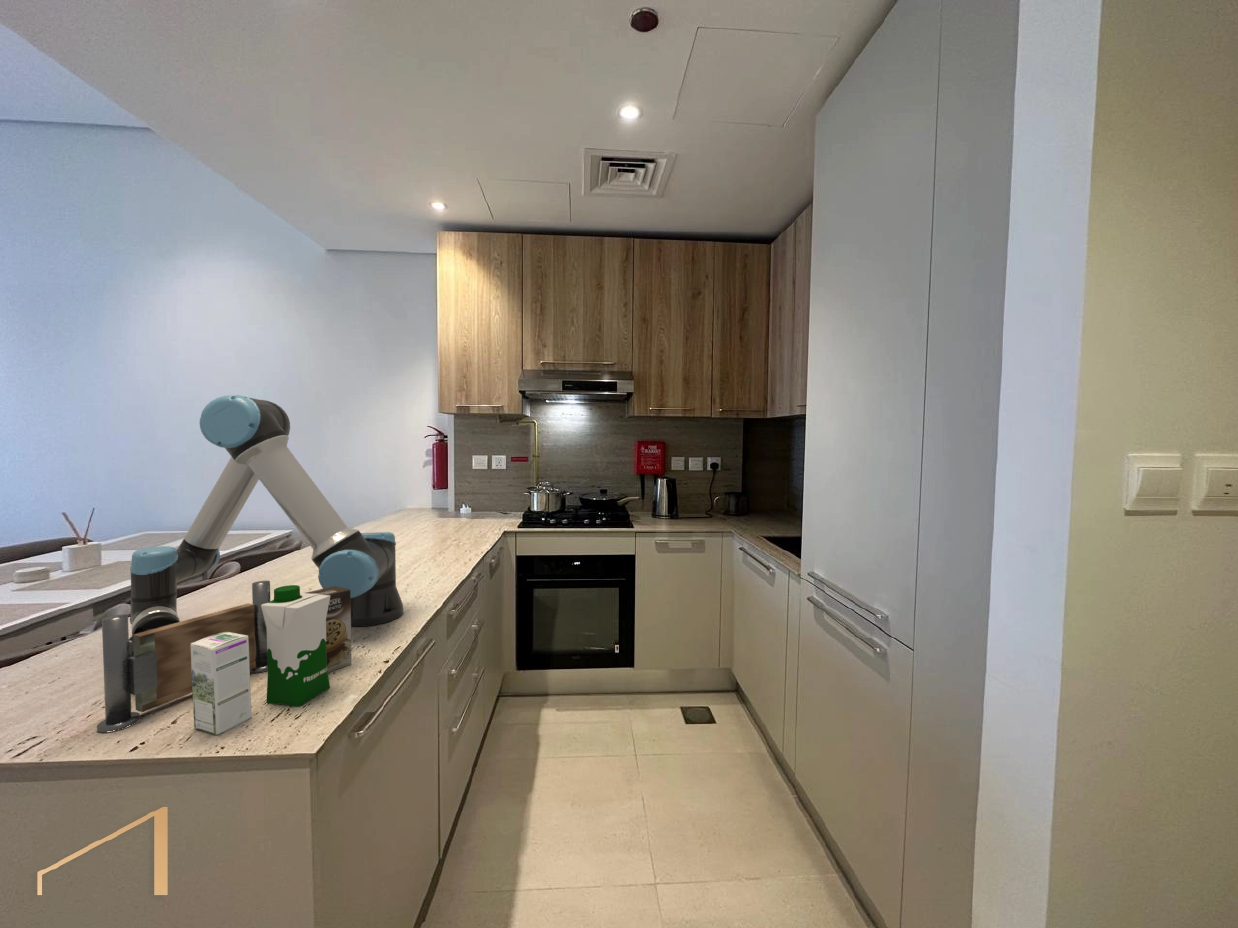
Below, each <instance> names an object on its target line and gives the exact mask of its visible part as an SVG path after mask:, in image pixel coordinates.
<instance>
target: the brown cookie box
mask: <svg viewBox="0 0 1238 928" xmlns="http://www.w3.org/2000/svg"><path fill="white" fill-rule="evenodd" d="M350 591H351V590H349V589H346V588H341V587H337V586H333V587H329V588H324V589H323V588H320V589H316V590H311V591H307V592H305V593H309V594H320V595H330V601H329V606H328V611H327V616H326V649H327V669H328V673H330V672H333V671H336V670H339V669H341V668H345V667H346V666H350V665H352V626H351V593H350Z"/></svg>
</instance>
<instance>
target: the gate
mask: <svg viewBox="0 0 1238 928" xmlns="http://www.w3.org/2000/svg"><path fill="white" fill-rule="evenodd" d="M222 632H231V633H236V634H241V635H247V636H248V641H249V666H250V670H252V669H254V668H256V662H255V638H254V604H253V603H244V604H240V605H237V606H234V607H233V606H232V607H231V608H230V607H229V608H226V609H222V610H218V611H215V612H212V613H208V614H204V615H200V616H196V617H193V618H189V619H186V620H182V621H180V622H178V623H174V624H170V625H167V626H163V627H159V628H156V629H152V630H148V631H145V632H141V633H137V634H134V635H133V645H134V656H137V655H140V654H143V653H147V652H150V651H153V652H156V654H157V684H158V687H156V688H154V689H151V690H148V691H145V692H142V693H140V694H137V695H134V697H135V700H134V701H135V711H136V712H137V711H138V712H139V713H144V712H146V711H150V710H152V709H155V708H156V707H160V706H162V705H165V704H167V703H169V702H172V701H175V700H178V699H180V698H182V697H185V696H187V695H190V694H193V691H192V669H191V643H194V642H196V641H198V640H201V639H203V638H206V637H209V636H212V635H215V634H219V633H222Z"/></svg>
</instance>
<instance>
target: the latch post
mask: <svg viewBox="0 0 1238 928" xmlns="http://www.w3.org/2000/svg"><path fill="white" fill-rule="evenodd" d="M129 631H130V630H129V614H125V613H124V614H123V613H122V614H115V615H110V616H106V617H104V618H102V619H101V634H102V636H101V637H102V639H101V640H102V657H103V658H102V661H103V664H102V665H103V686H104V687H103V689H104V693H103V694H104V715H105V719H103V720H101V721H100V722H99V723H97V725H96V732H97V731H99V732H107V731H113V730H118V729H122V728H125V727H127V726H129V725H132V724H134V723H135V724H137V723H138V722H139V721H140V720H141V714H140V713H141V712H139V711H138V712H137V711H132V697H131V696H132V695H133V696H135V695H137V694H140V693H142V692H145V691H148V690H151V689H154V688H156V687H158V684H157V654H156V652H153V651H150V652H147V653H143V654H140V655H137V656H133V657H130V658H129V638H130V636H129V635H130V634H129V633H130V632H129ZM139 719H140V720H139ZM138 720H139V721H138ZM137 721H138V722H137ZM136 722H137V723H136ZM135 724H134V725H135ZM132 726H133V725H132ZM127 728H128V727H127ZM125 729H126V728H125ZM122 730H123V729H122Z"/></svg>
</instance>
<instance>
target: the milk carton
mask: <svg viewBox="0 0 1238 928" xmlns="http://www.w3.org/2000/svg"><path fill="white" fill-rule="evenodd" d="M300 588H301V586H300V585H297V584H296V585H295V584H293V585H292V584H291V585H284V586H280V587H279V586H278V587H276V588H274V589H273V599H272V600H270V602H267V603H265V604H262V605H261V608H262V612H263V616H264V620H265V624H266V629H267V663H268V671H267V685H266V701H265V702H266V703H270V704H278V705H284V706H285V705H286V706H291V707H301V706H303V705H304V704H305V703H307V702H309V701H311V700H312V699H314V698H315V697H317V696H319V695H321V694H322V693H324V692H325V691H326V690H328V689H330V688H331V686H330V678H329V672H328V669H327V649H326V616H327V611H328V606H329V601H330V595H320V594H309V593H306V592H301V589H300Z"/></svg>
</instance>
